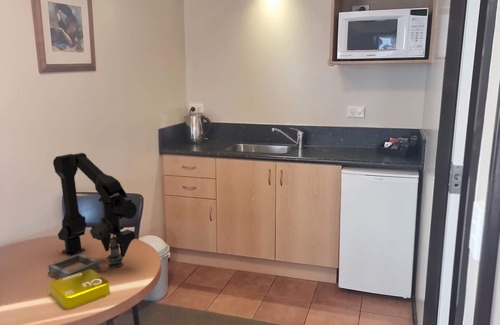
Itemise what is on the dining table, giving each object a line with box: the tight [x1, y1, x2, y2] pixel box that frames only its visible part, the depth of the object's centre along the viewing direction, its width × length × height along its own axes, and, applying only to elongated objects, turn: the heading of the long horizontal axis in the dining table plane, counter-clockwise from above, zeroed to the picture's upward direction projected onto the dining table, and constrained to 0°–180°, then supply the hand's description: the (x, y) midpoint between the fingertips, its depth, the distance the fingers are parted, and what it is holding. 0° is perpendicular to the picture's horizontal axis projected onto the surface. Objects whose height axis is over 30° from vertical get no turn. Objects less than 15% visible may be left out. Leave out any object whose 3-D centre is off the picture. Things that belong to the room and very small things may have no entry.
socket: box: [47, 253, 102, 280], centre depth 159 cm, size 13×13×4 cm
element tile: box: [48, 269, 111, 310], centre depth 145 cm, size 15×15×5 cm
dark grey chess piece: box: [106, 235, 124, 269], centre depth 164 cm, size 6×6×12 cm
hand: (115, 253), depth 165 cm, fingers open, 9 cm apart
